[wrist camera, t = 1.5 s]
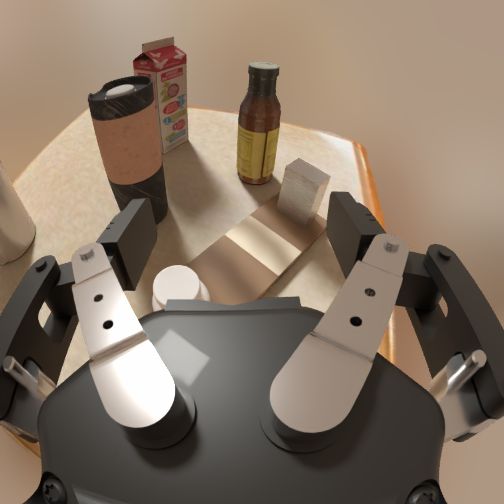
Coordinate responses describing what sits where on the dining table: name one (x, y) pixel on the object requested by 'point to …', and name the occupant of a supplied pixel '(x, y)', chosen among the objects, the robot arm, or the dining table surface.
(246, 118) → the sauce bottle
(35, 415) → the robot arm
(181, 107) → the juice carton
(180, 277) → the supplement bottle
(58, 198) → the dining table surface
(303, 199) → the silver rectangular block
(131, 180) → the travel mug
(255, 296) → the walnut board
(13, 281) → the dining table surface
